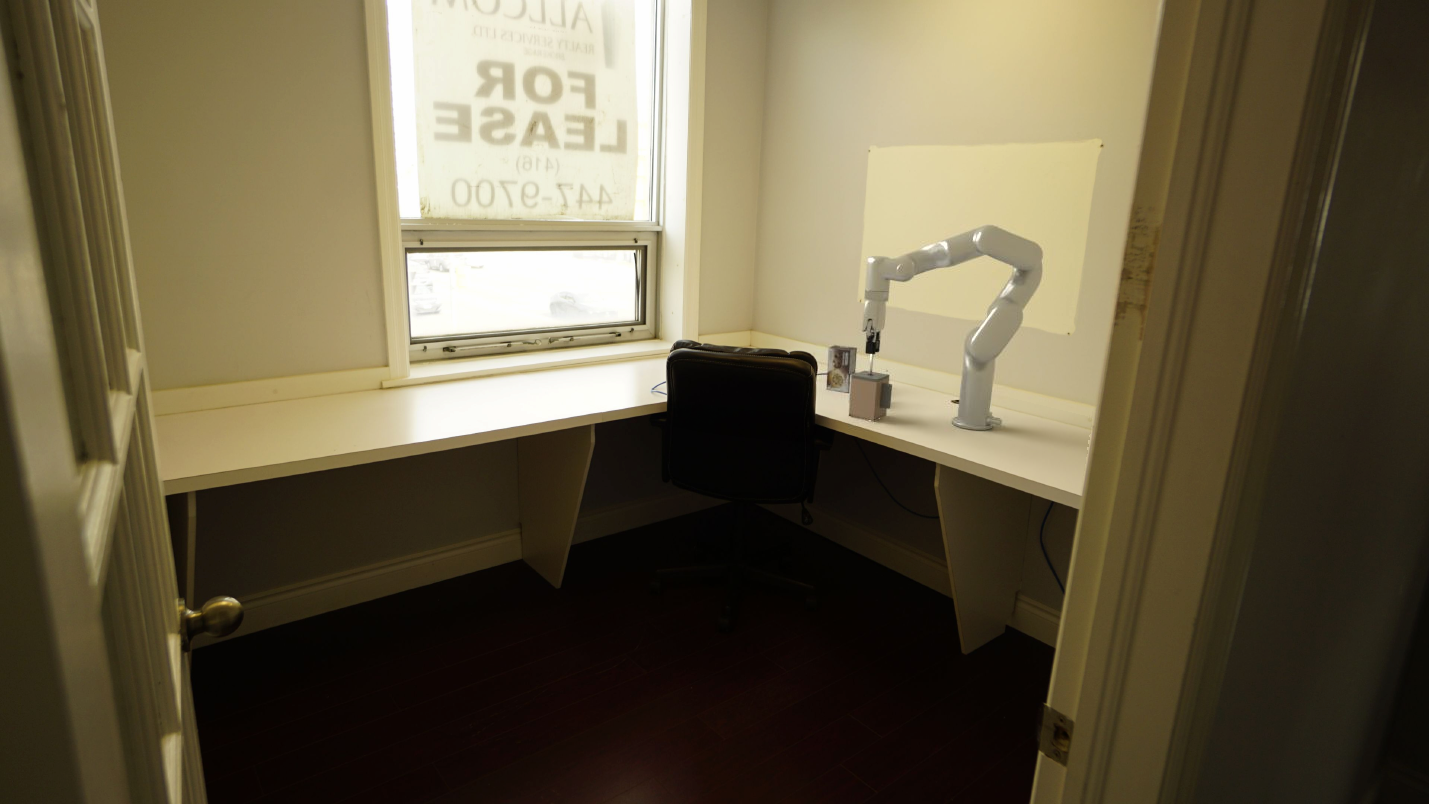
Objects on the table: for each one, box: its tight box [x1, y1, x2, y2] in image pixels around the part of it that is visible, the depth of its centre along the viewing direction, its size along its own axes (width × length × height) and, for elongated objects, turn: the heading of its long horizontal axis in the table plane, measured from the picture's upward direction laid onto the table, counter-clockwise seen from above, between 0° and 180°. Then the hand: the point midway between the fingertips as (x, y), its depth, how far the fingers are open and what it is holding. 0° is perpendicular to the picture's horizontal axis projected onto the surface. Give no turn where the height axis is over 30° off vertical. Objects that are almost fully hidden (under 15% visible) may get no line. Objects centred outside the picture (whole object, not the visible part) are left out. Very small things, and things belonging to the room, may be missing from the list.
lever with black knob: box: [868, 340, 879, 376], centre depth 250 cm, size 6×6×17 cm
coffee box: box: [825, 344, 858, 394], centre depth 287 cm, size 9×6×16 cm
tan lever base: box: [848, 370, 893, 422], centre depth 252 cm, size 12×9×14 cm
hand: (872, 352), depth 249 cm, fingers closed on lever with black knob, 3 cm apart
